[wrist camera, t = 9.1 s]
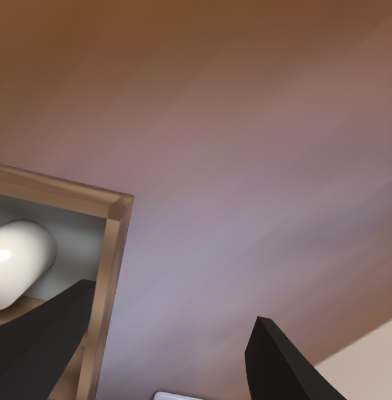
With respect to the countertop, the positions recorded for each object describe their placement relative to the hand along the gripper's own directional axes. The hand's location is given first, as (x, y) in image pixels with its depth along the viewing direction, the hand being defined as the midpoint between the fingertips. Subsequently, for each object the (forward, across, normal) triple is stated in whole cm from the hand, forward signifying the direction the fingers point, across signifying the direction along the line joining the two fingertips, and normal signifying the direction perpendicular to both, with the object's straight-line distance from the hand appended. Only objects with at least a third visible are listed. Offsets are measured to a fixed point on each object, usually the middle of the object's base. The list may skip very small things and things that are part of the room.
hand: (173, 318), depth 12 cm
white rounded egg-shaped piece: (+8, +11, +3) cm, 14 cm away
